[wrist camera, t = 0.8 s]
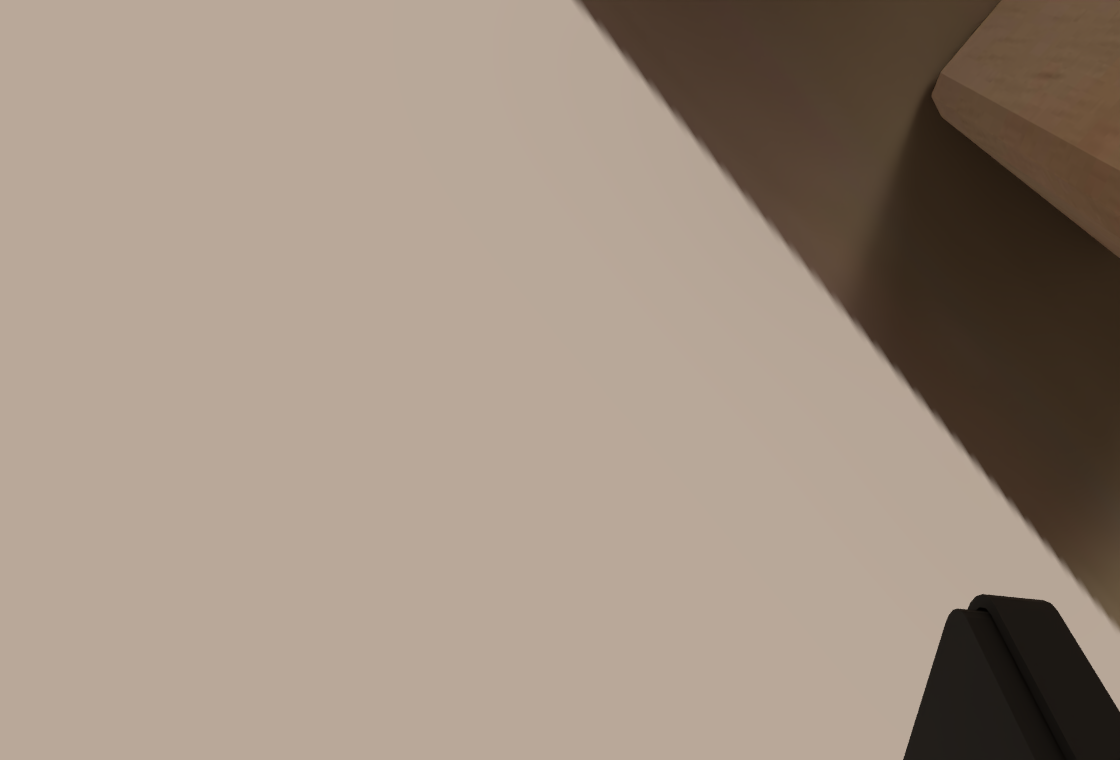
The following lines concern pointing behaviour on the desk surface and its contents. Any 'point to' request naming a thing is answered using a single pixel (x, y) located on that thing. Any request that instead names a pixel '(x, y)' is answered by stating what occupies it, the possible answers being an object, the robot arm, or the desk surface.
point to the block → (1046, 103)
